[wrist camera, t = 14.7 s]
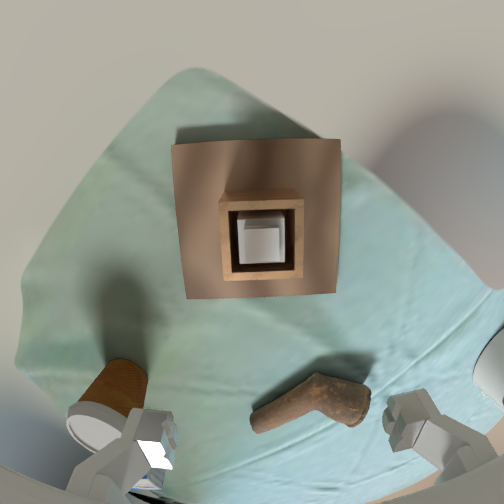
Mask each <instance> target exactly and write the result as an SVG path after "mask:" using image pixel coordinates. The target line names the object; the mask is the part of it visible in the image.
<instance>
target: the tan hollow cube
mask: <svg viewBox="0 0 504 504" xmlns="http://www.w3.org/2000/svg"><path fill="white" fill-rule="evenodd" d="M218 208H219V223H220V238H221V252H222V265H223V278H224V281H241V280H267V279H290V278H303V250H304V199H303V198H302V197H301V196H300V195H299V194H298V193H297V192H296V191H295V190H294V189H257V190H233V191H224V192H223V194H222V196H221V198H220V200H219V202H218ZM263 209H286V247H285V262H273V263H249V264H240V259H239V249H235V243H234V225H233V211H238V210H263Z"/></svg>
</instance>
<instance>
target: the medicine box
mask: <svg viewBox="0 0 504 504" xmlns="http://www.w3.org/2000/svg"><path fill="white" fill-rule="evenodd" d="M165 471H166V468H155V467H151V469H150V470H149V471H148V472H147V473H146V474H145V475H144V476H143V477H142V478H141V479H140V480H139V481H138V482H137V483H136V484H135V485H134V486H133V487H132V488H131V489H155V490H162V487H163V481H164V476H165Z"/></svg>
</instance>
